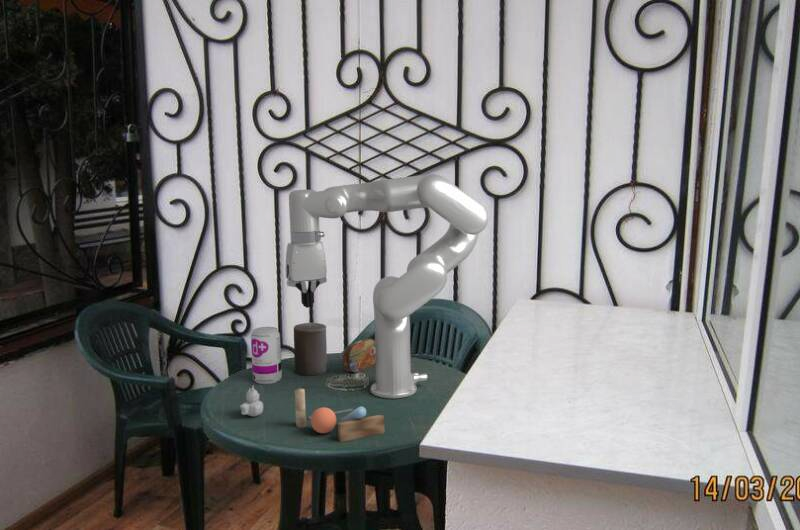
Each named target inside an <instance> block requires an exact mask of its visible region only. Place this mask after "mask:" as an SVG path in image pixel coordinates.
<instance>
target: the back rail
mask: <svg viewBox="0 0 800 530" xmlns="http://www.w3.org/2000/svg"><path fill="white" fill-rule="evenodd" d="M385 431H386V430H385V416H384V415H383V414H382V413H381V414H378V415H373V416H367V417H362V418H361V419H356V420H351V421H346V422H341V423H340V422H337V437H338V441H339V442H340V443H342V442H343V443H344V442H349V441H352V440H357V439H362V438H367V437H371V436H377V435H381V434H385V433H386V432H385Z"/></svg>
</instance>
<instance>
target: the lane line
mask: <svg viewBox="0 0 800 530" xmlns="http://www.w3.org/2000/svg"><path fill="white" fill-rule="evenodd" d="M354 410H355V409H354V408H347V409H342V410H337V411H333V412H334V413H335V415H337V414H338V415H339V414H344V413H347V412H352V411H354ZM311 416H312V415H310V416H307V419H308V420H311Z"/></svg>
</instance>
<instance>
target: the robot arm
mask: <svg viewBox="0 0 800 530" xmlns="http://www.w3.org/2000/svg"><path fill="white" fill-rule="evenodd" d="M288 207H289V209H288V210H289V214H288V215H289V232H290V242H288V243H287V246H286V253H285V278H286V279H287V281H286V286H288V287H290V288H297V290H299V291H300V297H301V304H302V305H303V307H304V308H306V309H308V308H313V307H314V303H315V292H316V290H317V289H318V287H319V286H320V285H322V284H326V283H327V282H328V280H327V260H326V254H325V249H324V245H323V241H321V239H322V238H324V237H325V231H321V230H320V218H323V219H339V218H341V217H343V216H344V215H345V214H346V213H354V212H355V213H356V212H364V211H365V212H366V211H368V212H370V211H372V212H381V213H392V212H400V211H405V210H406V211H407V210H408V211H409V210H414V209H423V208H430V210H432V211H433V212H434V213H436V214H437V215H439V216H440V217H441V218H443V220H445V221H446V222H447V223H449V226H448V229H447V231H446V232H445V234H444V235H443V236H442V237H440V238H439V239H438V240H437V241H436V242H434V243H433V244H432V245H430V246H429V247H427V248H426V249H425V250H423V251H421V252H420V253H418V254H417V255H416V256H414V257H413V258H412V259H411V260H410V261H409V263H408V264H407V267H406V272H404V273H403V274H401V276H399V277H397V276H391V275H389V276H386V277H385V276H384V277H383V278H380V280H379V281H377V283H376V284H375V286H374V288H373V291H372V303H373V315H374V316H373V318H374V321H373V322H374V340H375V360H376V362H375V382H374V383H373V384H371V386H370V393H371V394H372V395H373V396H376V397H377V398H378V397H379V398H382V399H402V398H408V397H411V396H412V395H414V394H416V392H417V390H418V389H417V383H418V382H423V381H424V382H425V381H427V380H428V375H427V373H421V374H420V373H418V372H413V373H412V371H411V370H412V369H411V367H412V366H411V363H412V362H411V317H410V316H411V315H412V314H413V313H414V312H416V311H417V310H419V309H420V308H421V307H423V306H424V305H425V304H427V303H428V302H429V301H431V300H433V298H435V297H436V296H437V295H439V293H441V291H442V290H443V289H444V288H445V286H446V284H447V281H448V274H449V273H451V271H454V269H455V268H456V267H458V266H459V265H460V264H461V263H463V262H464V261H465V260H466V259H467V258H468V257H469V256H470V255H471V253H472V252H473V251H474V248H475V246H476V244H477V241H478V237H479V234H480V233H482V232H483V231H484V230H485V229H486V227H488V226H487V225H488V222H489V214H488V211H487V209H486V208H485V206H483V204H481V203H480V202H479V201H477V200H476V199H475V198H473V197H472V196H470V195H469V194H467V193H466V192H464V191H463V190H462V189H461V188H459V187H458V186H456V185H455V184H454V183H452V182H451V181H450V180H449V179H448V178H446V177H445V176H442V175H439V174H434V173H429V174H428V173H427V174H419V175H413V176H412V175H411V176H405V177H396V178H388V179H381V180H375V181H370V182H361V183H353V184H352V183H351V184H343V185H336V186H330V187H326V188H325V189H324V190H319V191H316V190H313V189H295V190H292V191H290V192H289V194H288ZM306 282H307V284H306Z"/></svg>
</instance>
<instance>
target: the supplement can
mask: <svg viewBox="0 0 800 530" xmlns="http://www.w3.org/2000/svg"><path fill="white" fill-rule="evenodd" d="M250 347H251V348H250V349H251V350H250V351H251V352H250V353H251V364H252V365H251V366H252V367H251V368H252V380H253V381H254V382H255V383H256V384H260V385H271V384H275V383H278V382H280V380H281V379H282V377H283V372H282V371H283V370H282V369H283V368H282V351H281V348H282V347H281V334H280V332H279V331H278V327H275V326H260V327H256V328H253V329H252V332H251V334H250ZM277 381H278V382H277Z"/></svg>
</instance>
